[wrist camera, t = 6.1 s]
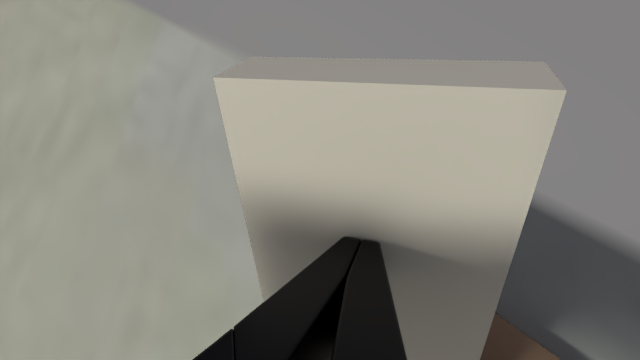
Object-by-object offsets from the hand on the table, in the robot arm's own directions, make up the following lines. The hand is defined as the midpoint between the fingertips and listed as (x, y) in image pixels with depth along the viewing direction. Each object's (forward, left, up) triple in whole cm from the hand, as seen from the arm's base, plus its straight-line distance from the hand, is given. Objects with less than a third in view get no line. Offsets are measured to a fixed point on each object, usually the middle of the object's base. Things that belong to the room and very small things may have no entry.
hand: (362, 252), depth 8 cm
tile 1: (0, -4, -5) cm, 6 cm away
